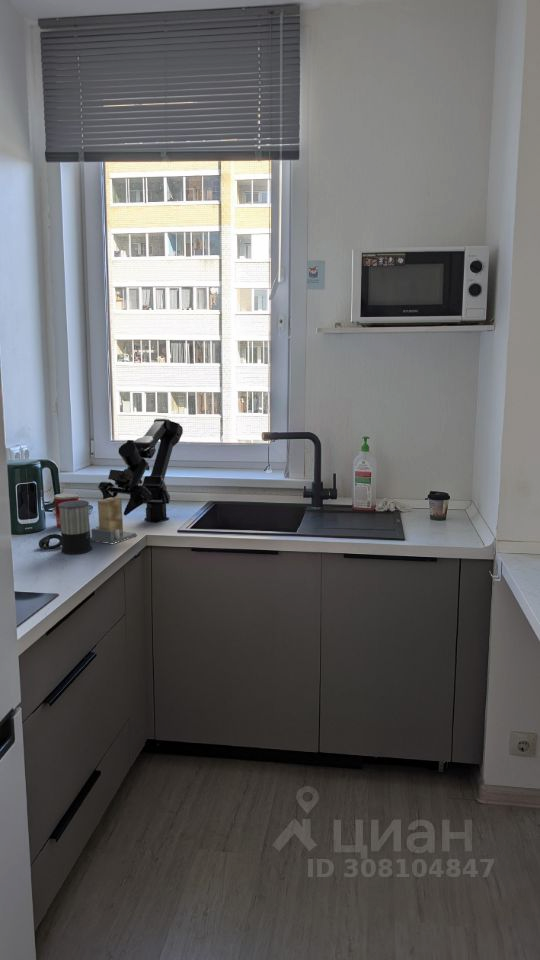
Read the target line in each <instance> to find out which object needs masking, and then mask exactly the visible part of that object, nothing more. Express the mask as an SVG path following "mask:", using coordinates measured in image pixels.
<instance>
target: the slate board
mask: <svg viewBox="0 0 540 960" xmlns="http://www.w3.org/2000/svg"><path fill="white" fill-rule="evenodd" d="M114 535H115V538H114V536H113V531H109V530H102V529H99V526H95V527H94V528H91V537H90V539H91V542H93V541H99V542H98V543H100V542H108V543H115V542H118V541H121V540H124V539H127V538H130V539H132V538H131V537H133V538H135V537H137V533H136V532H132V531H124V530H123V535H121V536H120V532H119V529H115V530H114ZM134 536H135V537H134ZM127 540H128V539H127ZM124 541H125V540H124ZM121 542H122V541H121Z"/></svg>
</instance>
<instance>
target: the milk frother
mask: <svg viewBox="0 0 540 960" xmlns="http://www.w3.org/2000/svg"><path fill="white" fill-rule="evenodd" d="M89 504H90V502H89V501H87V500H82V499H78V500H75V501H67V502H62V503H60V504H58V506H59V509H60V523H61V528H60V534H58V533H52V534H48V535H46V536H44V537H42V538H40V539H39V540H38V547H39V548H40V549H43V550H55V549H58V548H60V547H61V549H60V551H61V553H62V554H68V555H79V554H85V553H89V552H90V551H92V550H93V546H92V541H91V527H90V526H91V525H90V515H89V514H90V512H89V511H90V510H89ZM51 539H56V540H58V541H59V542H58V543H56V544H53V545H50V541H51Z"/></svg>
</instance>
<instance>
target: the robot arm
mask: <svg viewBox="0 0 540 960" xmlns="http://www.w3.org/2000/svg"><path fill="white" fill-rule="evenodd" d="M183 433H184V430H183V426H182V425H180V423H179V422H175V421H171V420H170V419H169V418H155V419H154V420H153V424H152V425H151V426H150V427H149V429H148V430H147V431H146V433H145V434H143V436H142V437H139V438H137V439H135V440H133V439H127V440H126V442H125V443H123V444H121V445H120V447H119V448H118V454H119V456H120V458H121V459H122V460H123V462H124V465H127V468H124V470H119V469H110V470H109V474H108V478H107V479H108V480H111V481H114V484H115V485H116V486H115V485H114V484H113V483H112V482H111V481H101V482H100V483H99V484H98V486H97V488H98V490H99V491H100V492H101V493H102V500H103V499H107V498H110V497H112V498H117V496H118V494H122V495H128V496H129V499H128V502H127V504H126V506H125V508H124V511H123V512H122V515H123V516H127V515H129V514H130V513H131V512H133V511H135V509H137V508H138V507H140V506H142V505H144V504H146V508H145V517H144V521H149V522H152V523H158V522H161V521H163V522H164V521H167V520H170V517H167V504H170V500H171V495H170V494H169V492H168V490H167V485H166V482H165V477H166V474H167V469H168V467H169V463H170V459H171V455H172V452H173V448H174V447H175V446H176V445H177V444H178V443H179V442H180V440H181V437H182V436H183ZM159 441H160V442H159ZM158 442H159V445H158V449H156V445H157V444H158ZM156 451H157V453H156ZM155 453H156V455H155ZM154 456H155V460H154V463H153V466H152V469H151V473H150V475H145V476H144V474H145V472H146V471H150V464H149V462H148V461H147V460H146V459H149V460H150V459H152V458H153V457H154ZM143 477H144V478H143ZM142 478H143V480H142Z"/></svg>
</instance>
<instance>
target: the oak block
mask: <svg viewBox="0 0 540 960" xmlns="http://www.w3.org/2000/svg"><path fill="white" fill-rule="evenodd" d="M97 510H98V511H97V512H98V513H97V514H98V527H99V529H102V530H109V531H113V536H114V538H115V535H114V530H115V529H119V532H120V536H121V535H123V531H124V527H123V526H124V524H123V522H124V521H123V506H122V498H119V497H114V498H112V497H110V498H107V499H103V498H102V499H101V500H100V499H99V500H97Z"/></svg>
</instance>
